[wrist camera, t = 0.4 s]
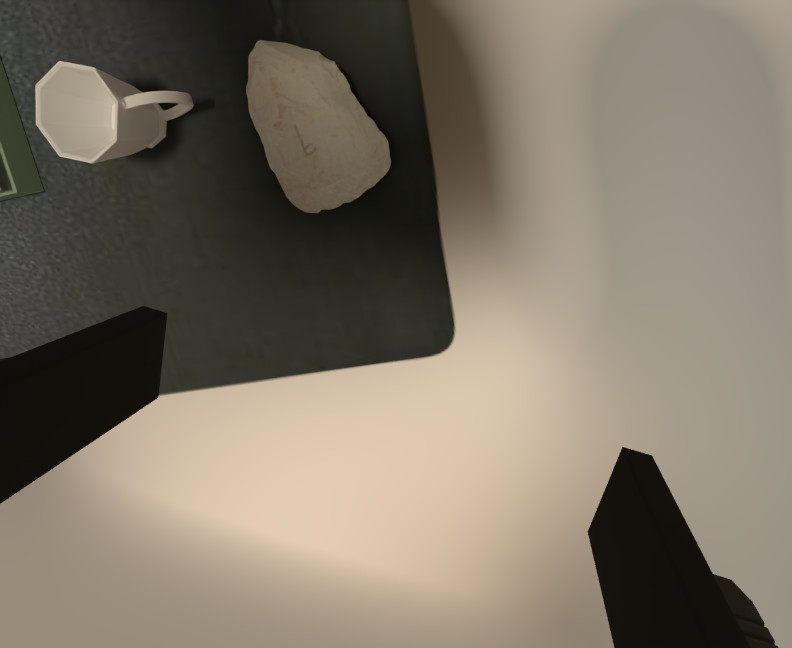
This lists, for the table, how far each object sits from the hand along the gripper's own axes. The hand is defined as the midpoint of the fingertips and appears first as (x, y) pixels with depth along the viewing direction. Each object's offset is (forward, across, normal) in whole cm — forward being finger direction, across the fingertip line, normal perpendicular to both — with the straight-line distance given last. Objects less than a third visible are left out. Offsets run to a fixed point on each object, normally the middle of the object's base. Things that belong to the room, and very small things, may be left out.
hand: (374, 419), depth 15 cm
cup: (+32, -27, +5) cm, 42 cm away
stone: (+32, -13, +7) cm, 35 cm away
